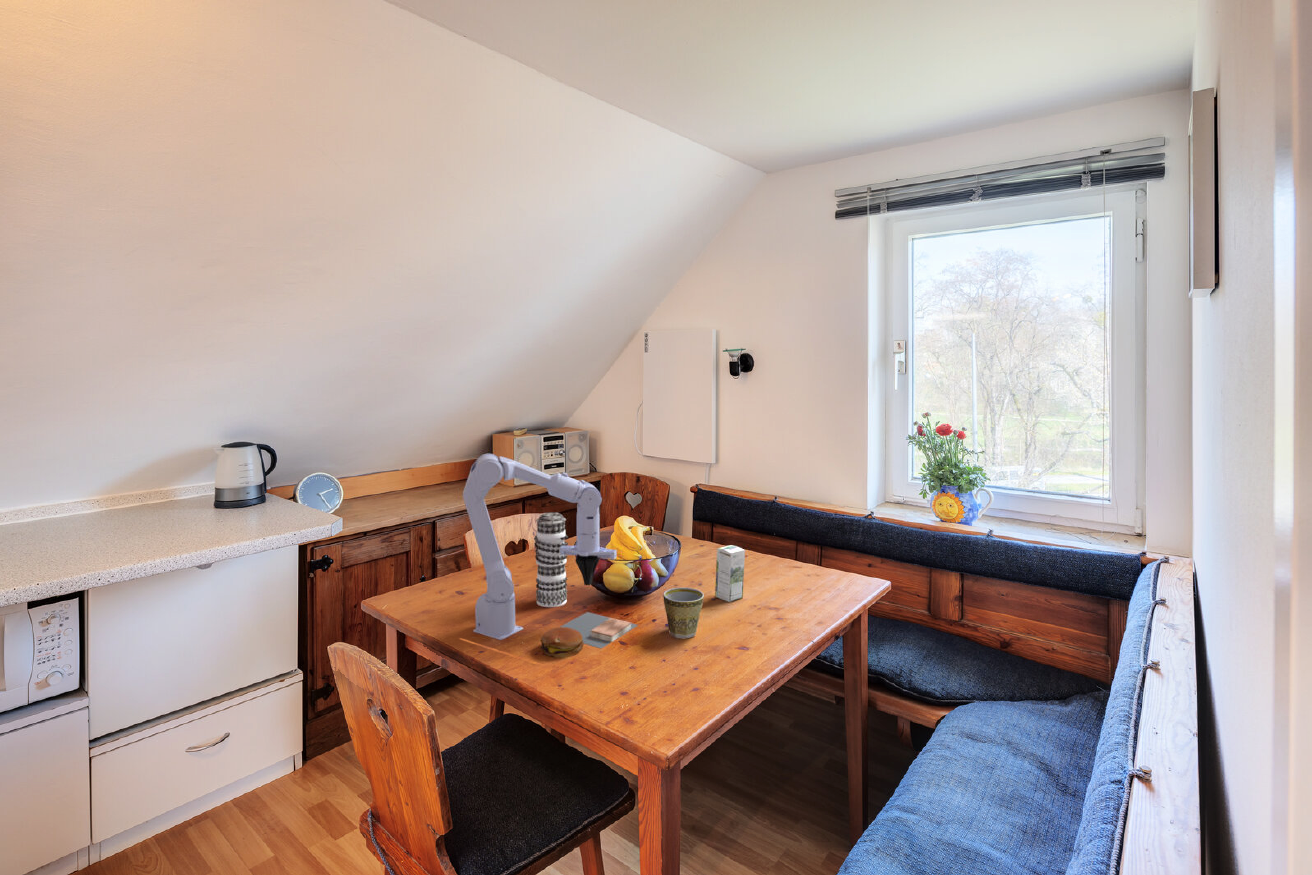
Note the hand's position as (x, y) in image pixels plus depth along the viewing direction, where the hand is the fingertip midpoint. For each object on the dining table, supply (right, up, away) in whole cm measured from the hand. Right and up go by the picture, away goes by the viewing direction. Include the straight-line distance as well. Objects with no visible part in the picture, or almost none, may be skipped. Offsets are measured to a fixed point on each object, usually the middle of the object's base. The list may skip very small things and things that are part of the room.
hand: (588, 583), depth 170 cm
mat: (+2, -11, -3) cm, 12 cm away
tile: (+4, -10, -4) cm, 11 cm away
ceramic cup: (+24, -11, -3) cm, 27 cm away
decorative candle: (-12, -9, +15) cm, 21 cm away
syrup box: (+38, -9, +20) cm, 44 cm away
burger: (-4, -13, -14) cm, 20 cm away
